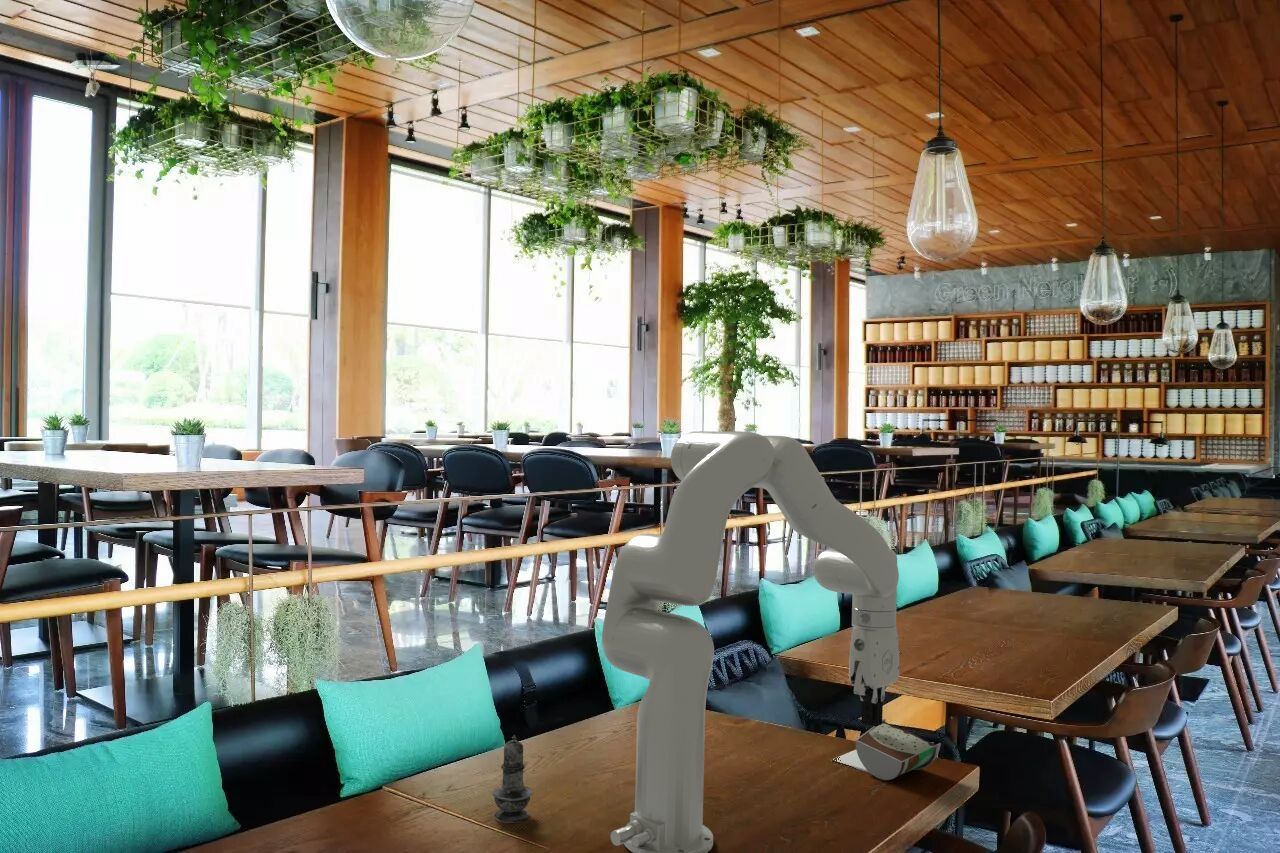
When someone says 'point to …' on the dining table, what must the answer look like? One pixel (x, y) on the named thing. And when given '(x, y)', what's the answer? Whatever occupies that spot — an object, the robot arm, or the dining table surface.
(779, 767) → the dining table surface
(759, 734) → the dining table surface
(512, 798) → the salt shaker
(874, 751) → the food container
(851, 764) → the mat
